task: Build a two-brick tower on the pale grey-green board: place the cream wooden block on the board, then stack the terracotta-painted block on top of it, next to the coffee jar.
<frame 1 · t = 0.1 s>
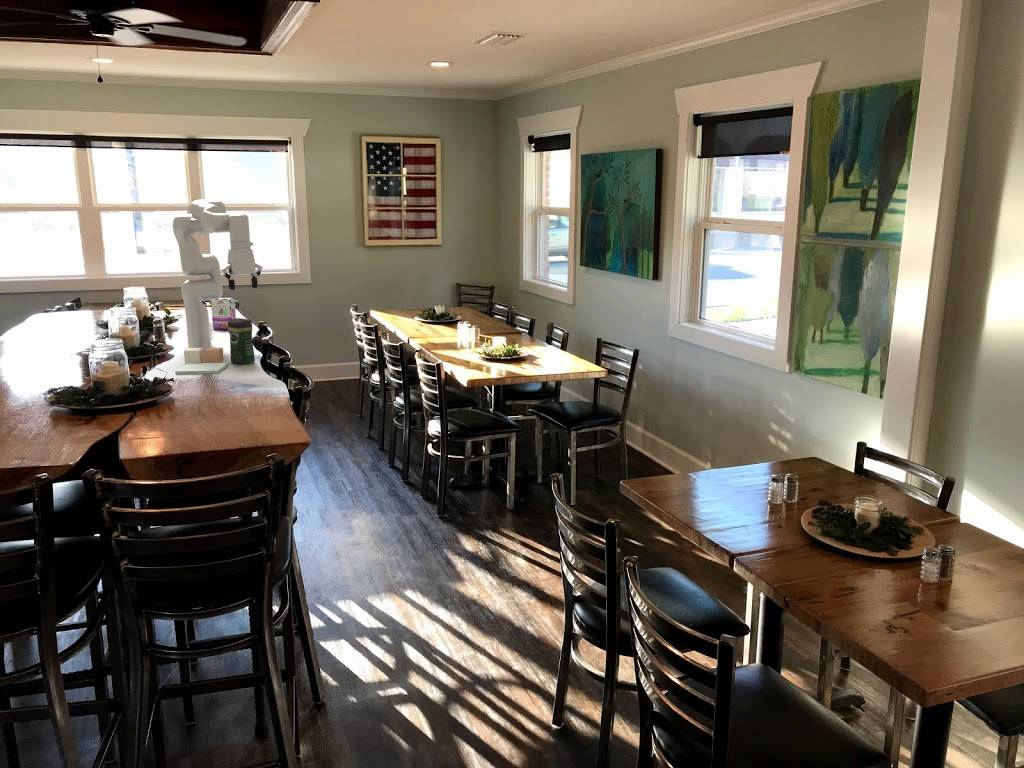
hand: (243, 288, 324), 31 cm above the table, tool pointing down, fingers open, 9 cm apart
coffee jar: (242, 363, 335), on the table
candy bar box: (225, 329, 421), on the table
cream block: (194, 363, 333), on the table
board: (202, 369, 320), on the table
terracotta block: (214, 363, 334), on the table
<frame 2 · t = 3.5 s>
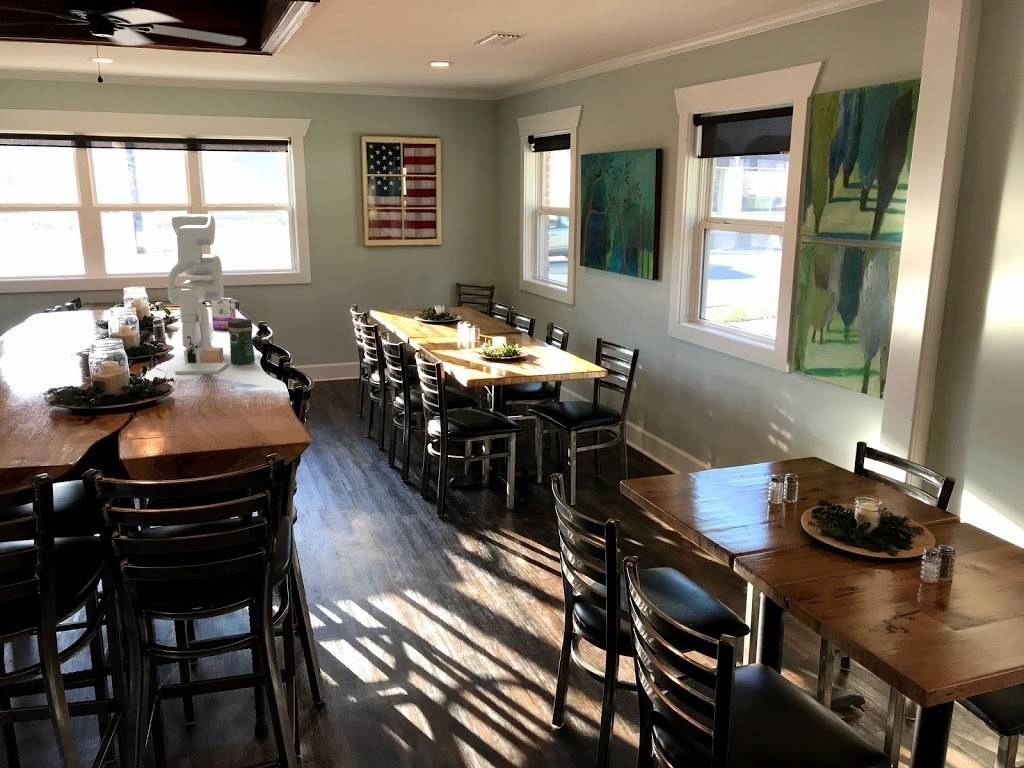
hand: (194, 361, 333), 1 cm above the table, tool pointing down, fingers closed on cream block, 6 cm apart
cream block: (194, 363, 333), on the table, touching gripper
everything else where it was.
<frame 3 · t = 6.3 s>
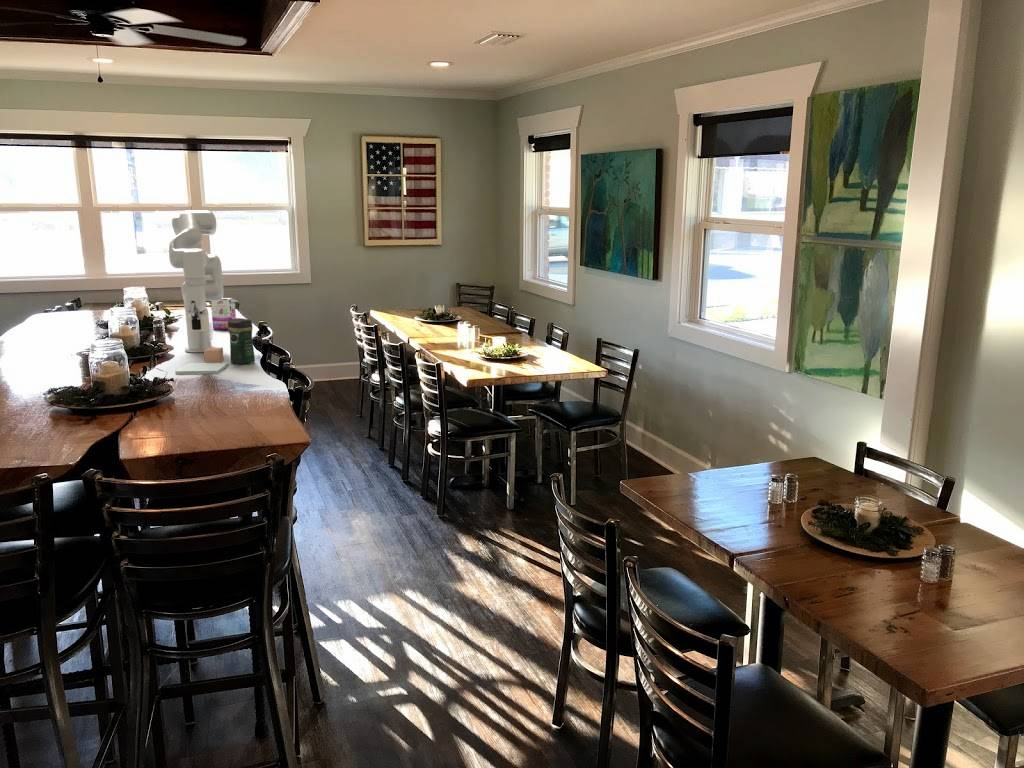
hand: (199, 327, 317), 17 cm above the table, tool pointing down, fingers closed on cream block, 6 cm apart
cream block: (199, 330, 317), point 16 cm above the table, touching gripper
everything else where it was.
when the fingers open (3 cm above the table, at t = 9.2 s): cream block stays where it is, resting on board.
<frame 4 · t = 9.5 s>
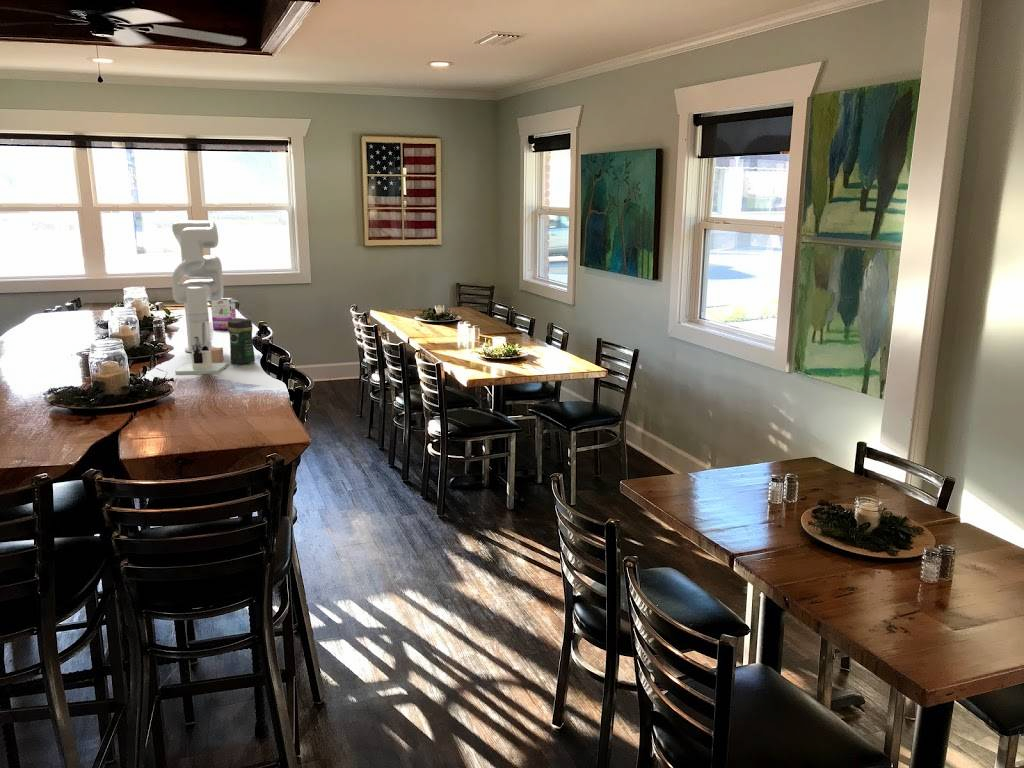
hand: (201, 360, 320), 4 cm above the table, tool pointing down, fingers open, 9 cm apart
cream block: (202, 366, 320), point 1 cm above the table, touching board
everything else where it was.
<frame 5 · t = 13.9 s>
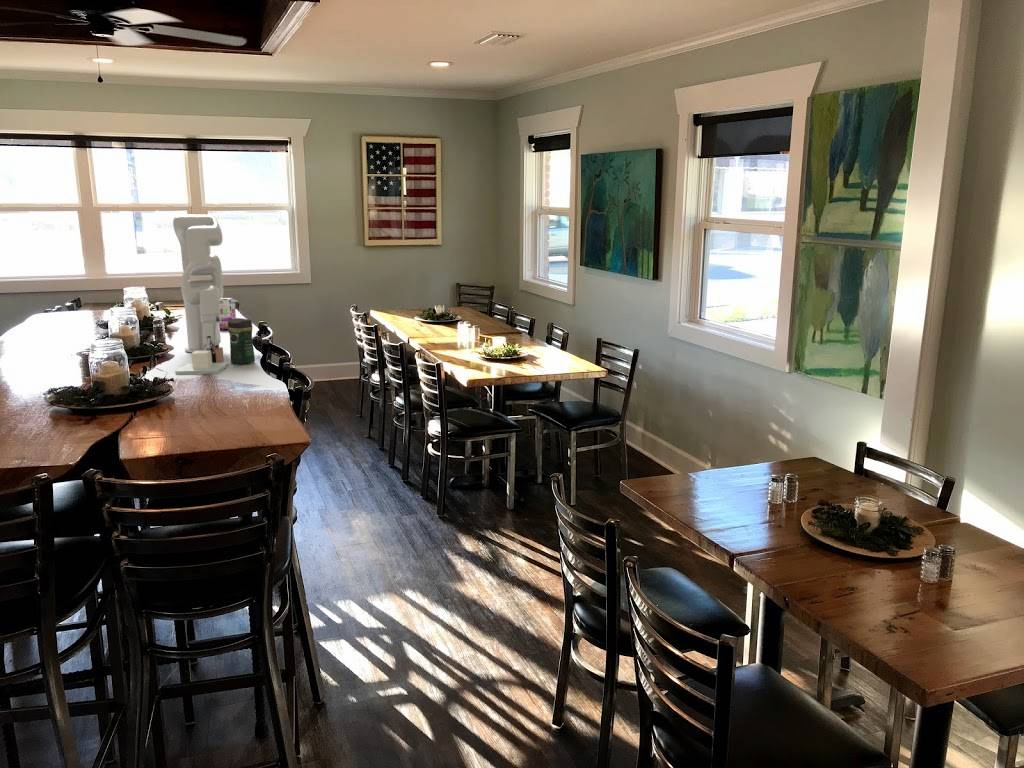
hand: (214, 360, 334), 1 cm above the table, tool pointing down, fingers closed on terracotta block, 6 cm apart
terracotta block: (214, 363, 334), on the table, touching gripper
everything else where it was.
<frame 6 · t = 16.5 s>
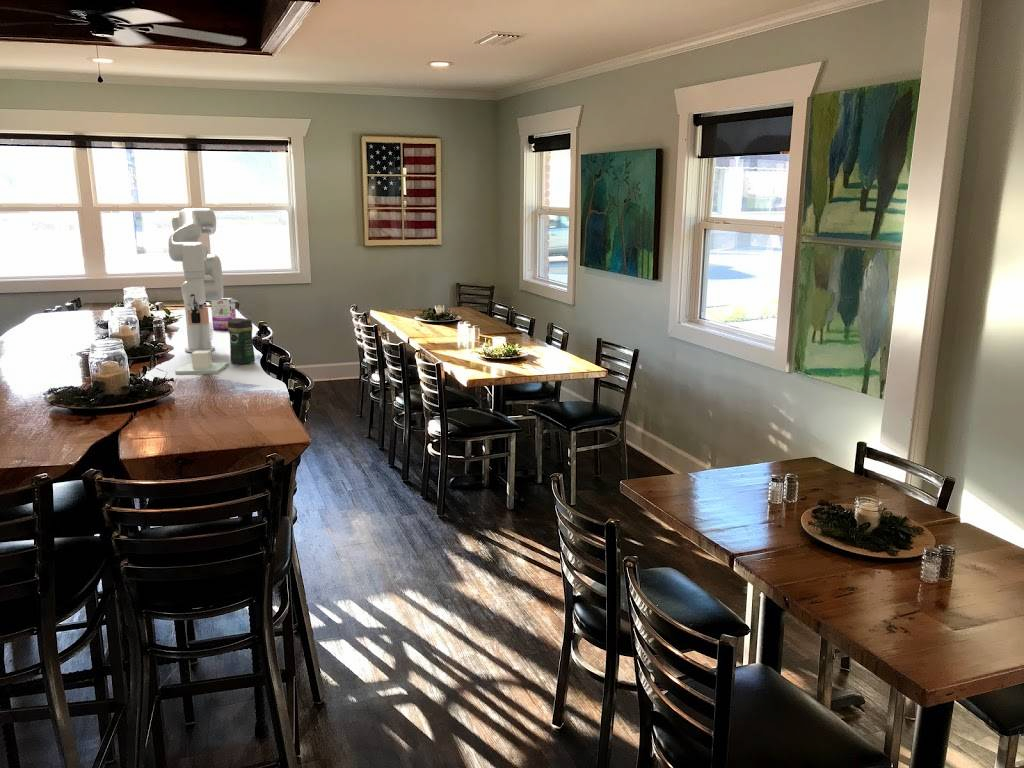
hand: (198, 321, 316), 19 cm above the table, tool pointing down, fingers closed on terracotta block, 6 cm apart
terracotta block: (198, 323, 316), point 19 cm above the table, touching gripper
everything else where it was.
when the fingers open (9 cm above the table, at t = 19.3 s): terracotta block drops 1 cm, resting on cream block.
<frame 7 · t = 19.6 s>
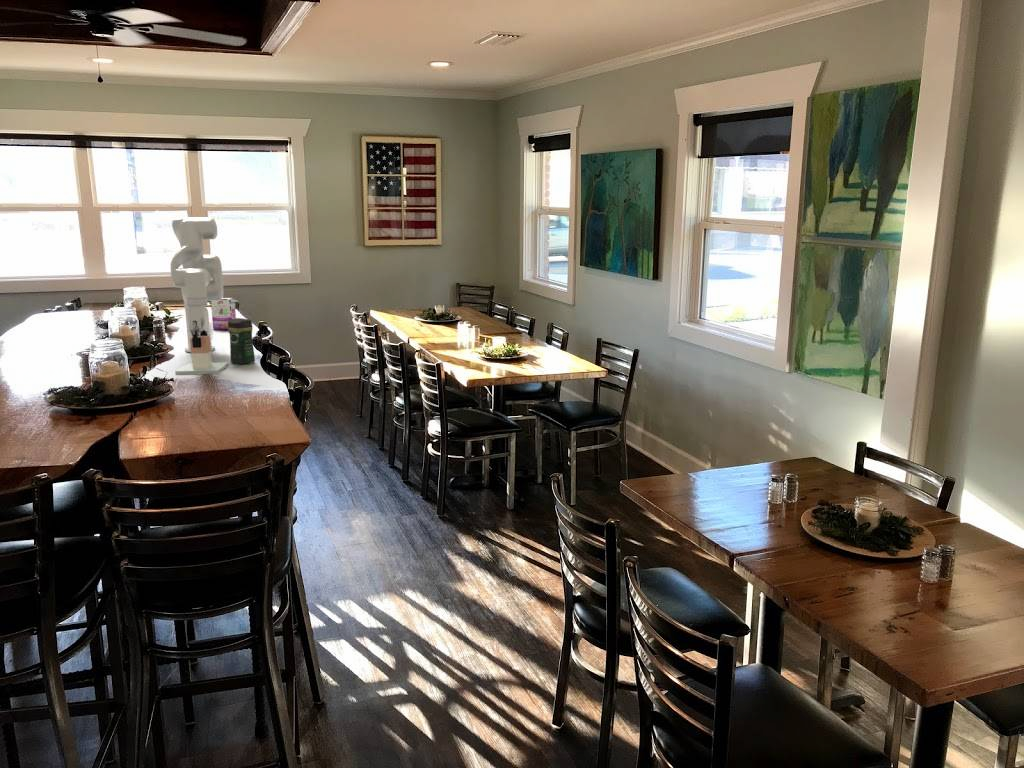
hand: (200, 345, 318), 10 cm above the table, tool pointing down, fingers open, 9 cm apart
cream block: (202, 366, 320), point 1 cm above the table, touching board, terracotta block
terracotta block: (201, 351, 319), point 7 cm above the table, touching cream block
everything else where it was.
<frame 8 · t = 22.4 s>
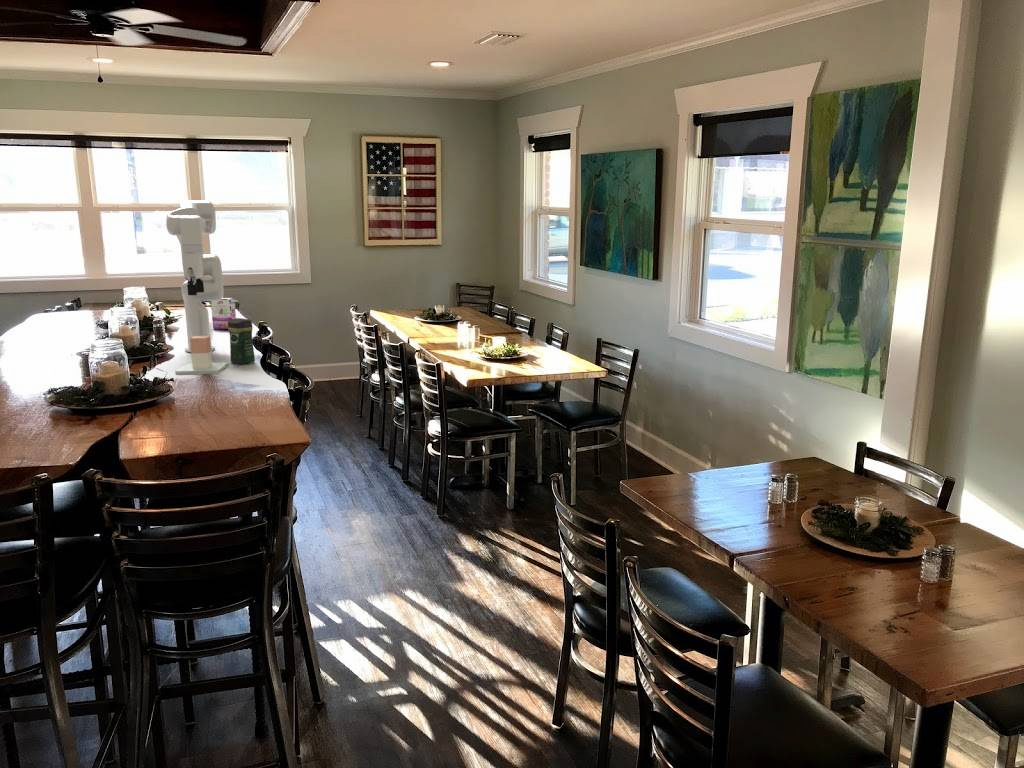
hand: (196, 293, 314), 30 cm above the table, tool pointing down, fingers open, 9 cm apart
nothing on the table moved.
at the end: cream block inside the target area on the board (0.1 cm from its centre), point 1.2 cm above the board's base; terracotta block 0.0 cm off-centre on the cream block, point 6.0 cm above the cream block's base; terracotta block tilted 0° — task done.
